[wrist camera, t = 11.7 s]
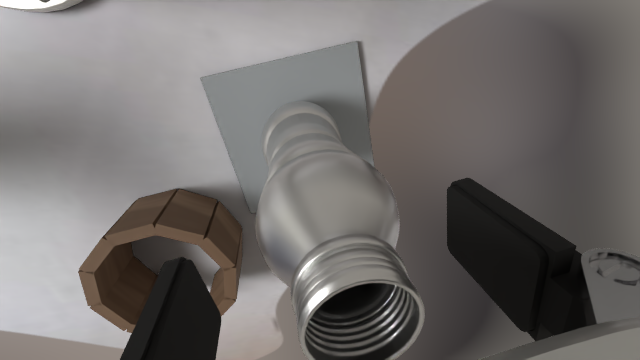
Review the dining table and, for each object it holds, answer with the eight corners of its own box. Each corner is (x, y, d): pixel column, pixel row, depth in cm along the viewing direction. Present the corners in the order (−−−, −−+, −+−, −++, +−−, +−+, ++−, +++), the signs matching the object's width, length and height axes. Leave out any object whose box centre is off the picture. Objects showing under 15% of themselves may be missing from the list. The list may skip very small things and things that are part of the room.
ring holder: (91, 210, 26) (44, 251, 21) (221, 177, 27) (209, 208, 21) (149, 298, 31) (124, 350, 26) (258, 268, 32) (256, 313, 26)
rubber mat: (201, 77, 23) (200, 78, 23) (355, 41, 24) (357, 41, 23) (251, 211, 29) (250, 213, 28) (374, 178, 29) (376, 180, 29)
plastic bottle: (335, 96, 25) (505, 215, 7) (331, 168, 28) (446, 388, 10) (260, 96, 24) (228, 233, 6) (264, 170, 27) (250, 420, 9)
